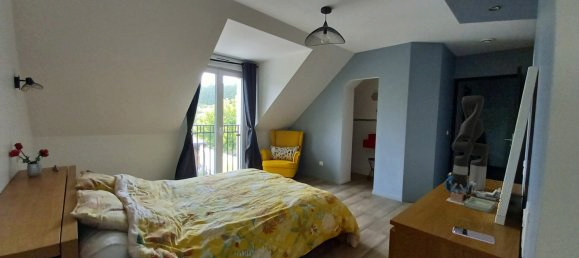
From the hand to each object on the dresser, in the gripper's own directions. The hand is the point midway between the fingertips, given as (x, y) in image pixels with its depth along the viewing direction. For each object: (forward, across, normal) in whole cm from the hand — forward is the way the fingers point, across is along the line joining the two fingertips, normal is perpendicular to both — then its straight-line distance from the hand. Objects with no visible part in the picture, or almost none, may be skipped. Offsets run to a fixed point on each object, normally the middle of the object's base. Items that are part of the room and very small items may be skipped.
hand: (458, 198), depth 151 cm
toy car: (+2, -9, -22) cm, 24 cm away
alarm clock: (+1, +4, -12) cm, 12 cm away
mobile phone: (+2, -17, +45) cm, 48 cm away
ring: (+1, 0, 0) cm, 1 cm away
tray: (+1, -11, 0) cm, 11 cm away
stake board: (+1, 0, 0) cm, 1 cm away
